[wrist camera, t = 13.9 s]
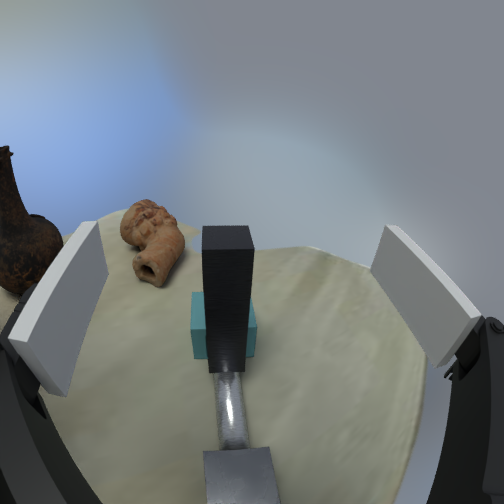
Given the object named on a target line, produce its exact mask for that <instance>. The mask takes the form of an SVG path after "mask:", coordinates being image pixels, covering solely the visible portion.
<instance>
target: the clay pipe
mask: <svg viewBox="0 0 504 504" xmlns="http://www.w3.org/2000/svg"><path fill="white" fill-rule="evenodd" d="M120 233H121V237H122V239H123V240H124V241H125V242H126V243H128V244H130V245H134V246H139V248H140V250H142V252H140V253H139V254H138V255H136V257H135V258H134V259H133V264H132V265H133V269H134V271H135V274H136V276H137V277H138V278H139V279H142V280H145V281H147V282H150V283H151V284H153V285H154V286H155V287H160V286H162V285H163V283H164V282H165V280H166V278H167V275H168V273H169V271H170V269H171V267H172V266H173V265H174V263H175V262H176V260H177V259H178V257H179V256H180V255H181V254H182V252H183V250H184V248H185V240H184V236H183V234H182V233H181V232H180V230H179V229H178V227H177V221H176V219H175V218H174V217H173V216H172V215H170V214H169V213H168V212H167V210H166V209H165V208H164V207H163V206H158V205H157V204H156V203H155V202H152V201H150V200H147V199H146V200H141V201H139V202H136V203H134V204H133V205H132V206H131V207H130V208H129V210H128V211H127V212H126V213H125V214H124V216H123V218H122V221H121V225H120Z"/></svg>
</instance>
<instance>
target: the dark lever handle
mask: <svg viewBox="0 0 504 504" xmlns="http://www.w3.org/2000/svg"><path fill="white" fill-rule="evenodd" d="M254 250H255V249H254V245H253V241H252V238H251V235H250V230H249V227H248V226H203V230H202V271H203V293H204V310H205V326H206V340H207V353H208V365H209V373H214V385H215V399H216V413H217V425H218V436H219V447H220V451H225V450H241V449H250V445H249V438H248V432H247V425H246V418H245V411H244V404H243V397H242V390H241V383H240V375H239V372H245V360H246V348H247V336H248V323H249V311H250V299H251V287H252V275H253V262H254Z"/></svg>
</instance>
